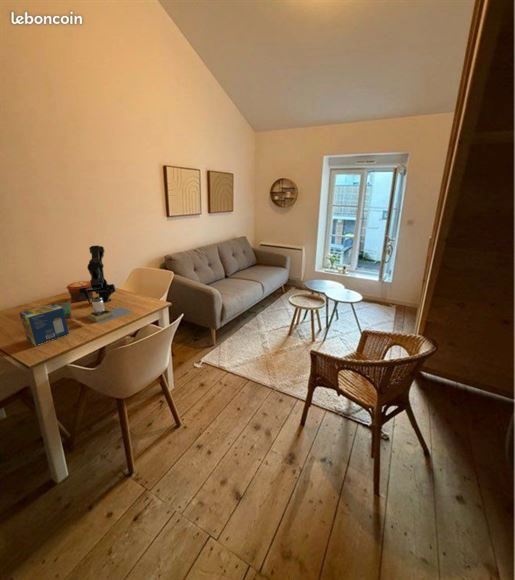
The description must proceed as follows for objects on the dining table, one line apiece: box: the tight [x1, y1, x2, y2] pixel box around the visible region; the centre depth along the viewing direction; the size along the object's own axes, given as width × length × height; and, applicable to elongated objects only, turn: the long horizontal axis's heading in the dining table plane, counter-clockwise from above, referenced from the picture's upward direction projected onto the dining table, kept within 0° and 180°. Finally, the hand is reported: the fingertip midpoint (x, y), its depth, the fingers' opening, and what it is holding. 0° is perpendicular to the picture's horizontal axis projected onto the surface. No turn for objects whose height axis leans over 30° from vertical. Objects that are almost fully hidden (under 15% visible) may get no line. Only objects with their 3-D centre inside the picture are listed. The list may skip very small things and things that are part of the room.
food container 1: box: [54, 300, 72, 320], centre depth 167 cm, size 12×6×10 cm, turn 143°
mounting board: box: [86, 306, 134, 325], centre depth 171 cm, size 14×21×1 cm, turn 146°
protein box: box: [18, 303, 70, 346], centre depth 144 cm, size 10×15×16 cm
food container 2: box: [65, 280, 94, 302], centre depth 201 cm, size 16×16×11 cm
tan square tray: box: [87, 308, 113, 323], centre depth 167 cm, size 10×10×3 cm
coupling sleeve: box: [90, 296, 106, 316], centre depth 165 cm, size 6×6×12 cm
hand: (98, 302), depth 168 cm, fingers open, 9 cm apart
